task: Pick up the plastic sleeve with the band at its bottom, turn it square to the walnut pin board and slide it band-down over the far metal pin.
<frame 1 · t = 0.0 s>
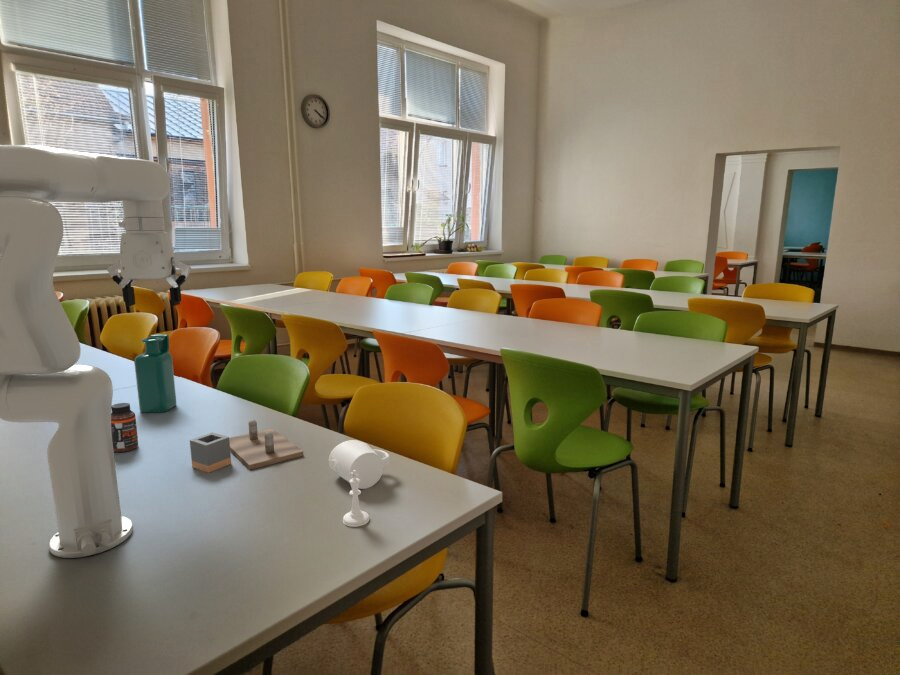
hand: (153, 305, 126), 37 cm above the table, tool pointing down, fingers open, 9 cm apart
mug: (363, 480, 126), on the table
chess piece: (356, 521, 108), on the table
sleeve: (211, 465, 133), on the table
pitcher: (159, 408, 175), on the table
pin board: (261, 449, 142), on the table
supplement bottle: (125, 449, 143), on the table
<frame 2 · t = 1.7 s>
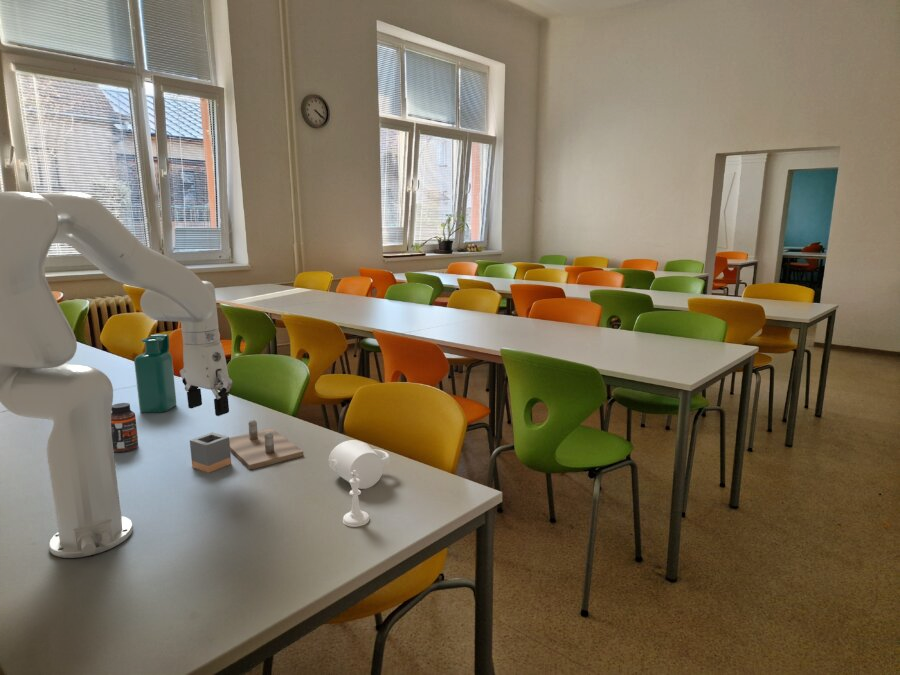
hand: (208, 410, 131), 13 cm above the table, tool pointing down, fingers open, 9 cm apart
nothing on the table moved.
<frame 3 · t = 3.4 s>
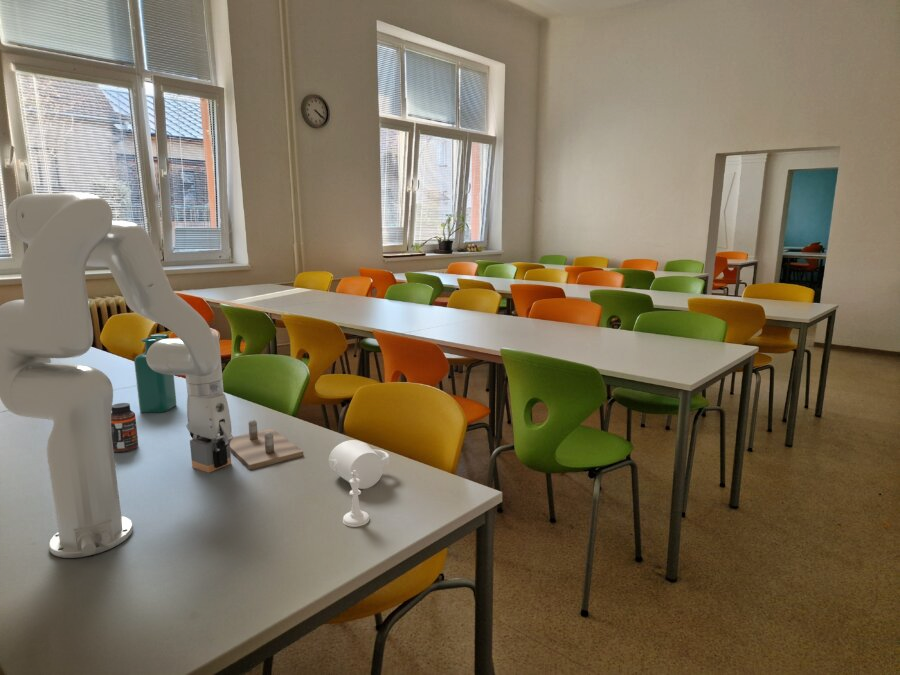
hand: (211, 461, 133), 1 cm above the table, tool pointing down, fingers closed on sleeve, 6 cm apart
sleeve: (211, 465, 133), on the table, touching gripper
everything else where it was.
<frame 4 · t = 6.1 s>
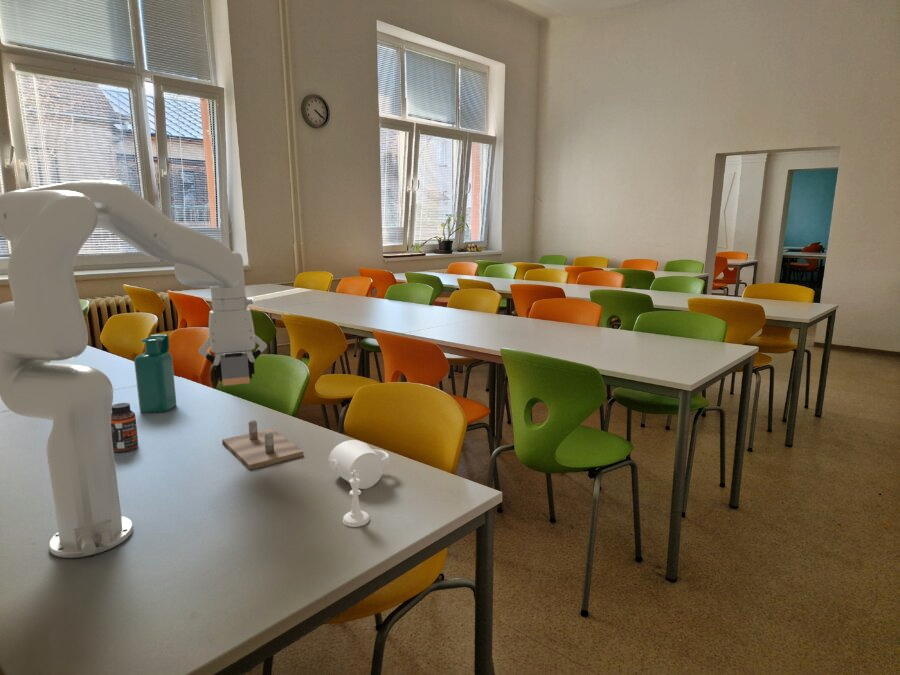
hand: (235, 377, 138), 18 cm above the table, tool pointing down, fingers closed on sleeve, 6 cm apart
sleeve: (236, 381, 138), point 18 cm above the table, touching gripper
everything else where it was.
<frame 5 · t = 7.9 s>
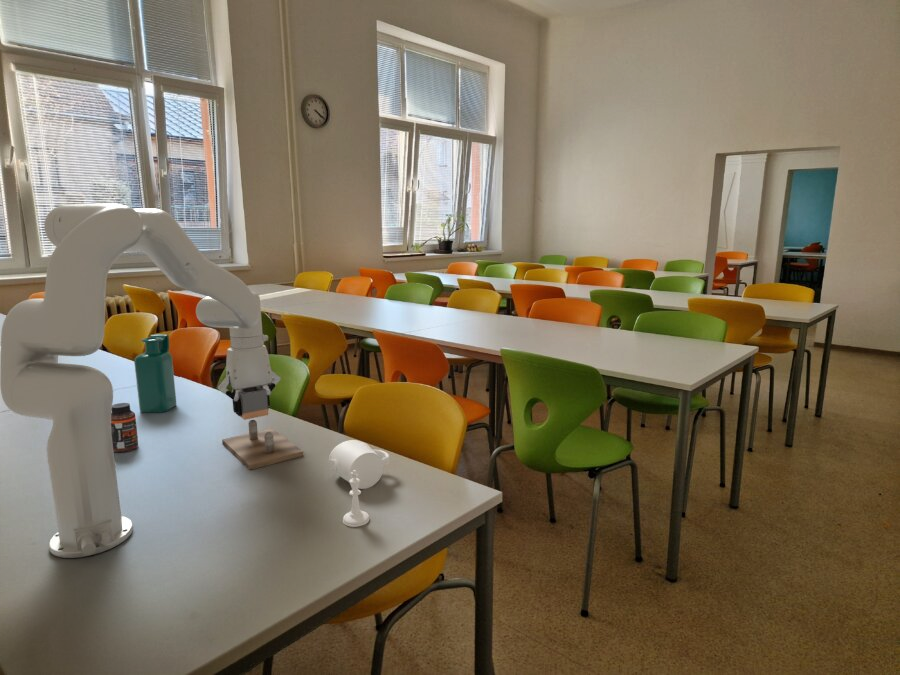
hand: (252, 411, 145), 8 cm above the table, tool pointing down, fingers closed on sleeve, 6 cm apart
sleeve: (252, 414, 145), point 8 cm above the table, touching gripper
everything else where it was.
when the fingers open (4 cm above the table, at t = 9.3 s): sleeve drops 2 cm, resting on pin board.
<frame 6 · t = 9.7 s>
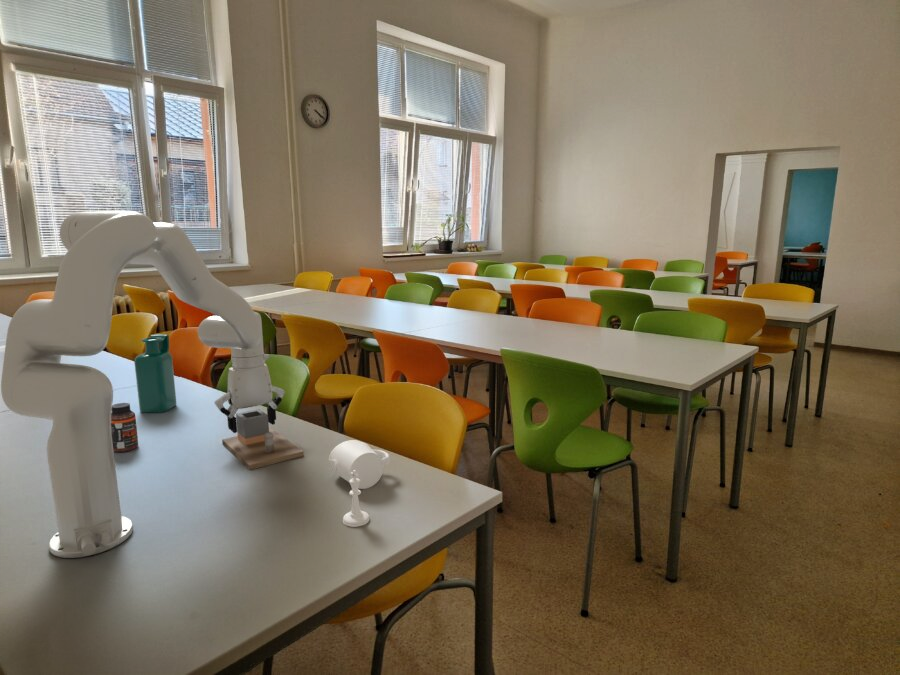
hand: (252, 427, 145), 4 cm above the table, tool pointing down, fingers open, 9 cm apart
sleeve: (253, 438, 146), point 1 cm above the table, touching pin board
everything else where it was.
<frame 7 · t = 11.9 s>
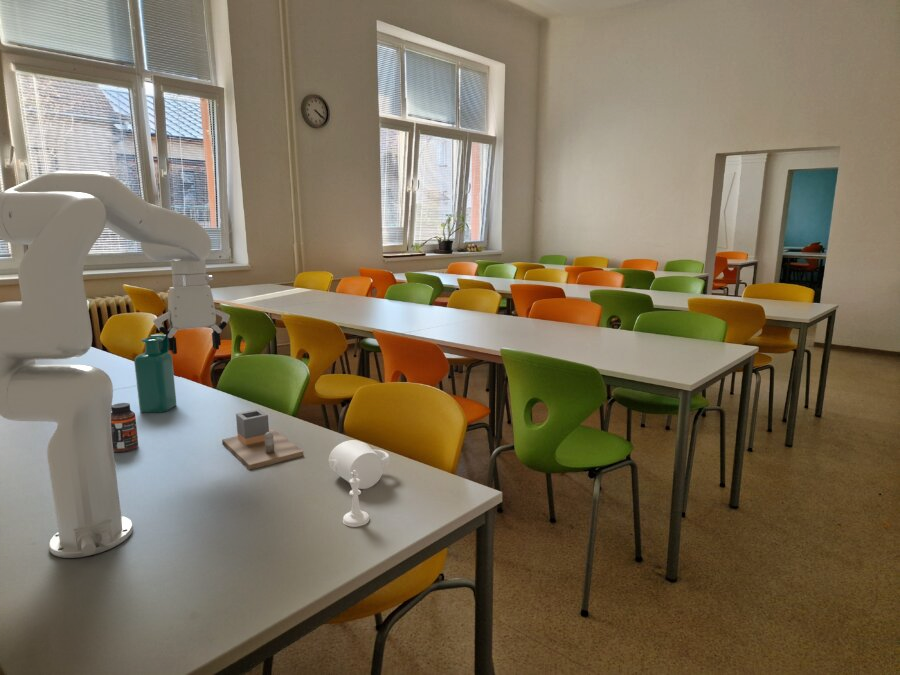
hand: (195, 350, 141), 24 cm above the table, tool pointing down, fingers open, 9 cm apart
nothing on the table moved.
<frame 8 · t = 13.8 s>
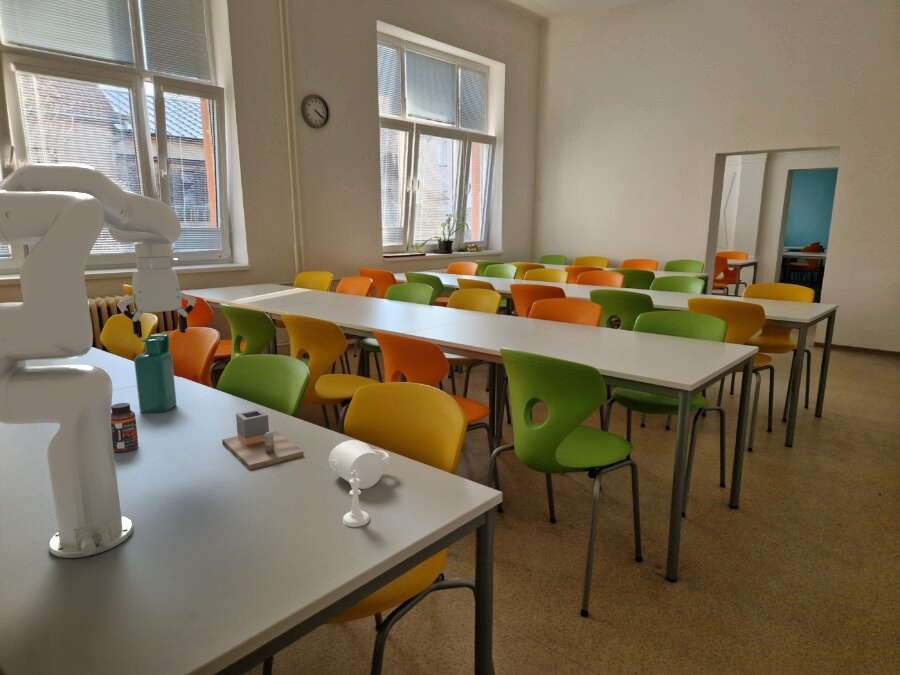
hand: (161, 334, 140), 28 cm above the table, tool pointing down, fingers open, 9 cm apart
nothing on the table moved.
at the end: sleeve 0.0 cm from the target spot on the pin board, point 1.2 cm above the pin board's base; sleeve tilted 0°; the gripper is holding nothing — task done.
